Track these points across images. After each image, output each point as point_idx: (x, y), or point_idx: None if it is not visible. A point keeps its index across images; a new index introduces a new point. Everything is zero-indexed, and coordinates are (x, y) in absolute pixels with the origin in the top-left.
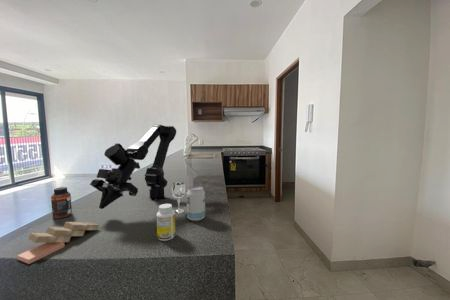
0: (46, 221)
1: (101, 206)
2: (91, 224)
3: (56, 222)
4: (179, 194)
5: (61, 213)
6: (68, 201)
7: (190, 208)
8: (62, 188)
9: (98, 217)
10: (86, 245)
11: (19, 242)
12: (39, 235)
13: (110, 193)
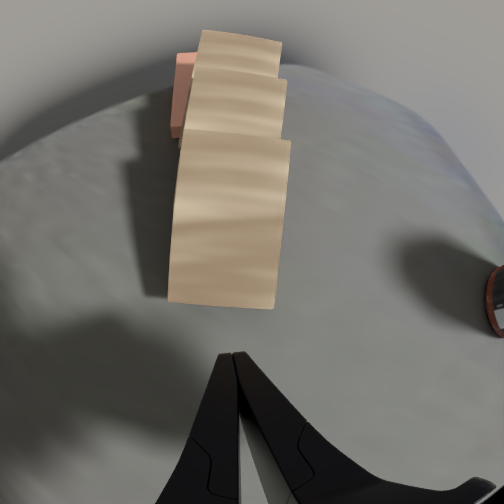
0: (491, 241)
1: (215, 362)
2: (189, 259)
3: (461, 253)
4: None
5: (501, 281)
6: None
7: None
8: None
9: (357, 407)
10: (88, 179)
11: (371, 112)
12: (219, 40)
13: None
